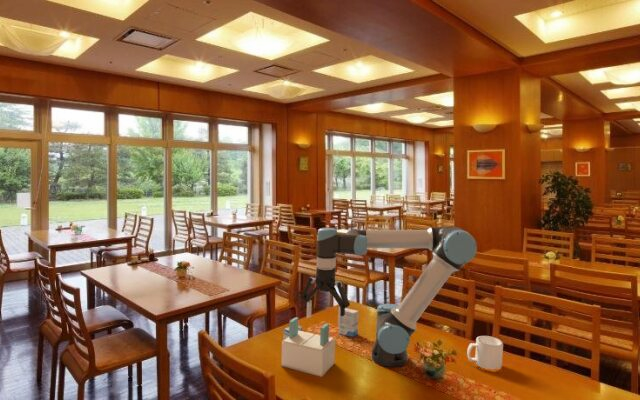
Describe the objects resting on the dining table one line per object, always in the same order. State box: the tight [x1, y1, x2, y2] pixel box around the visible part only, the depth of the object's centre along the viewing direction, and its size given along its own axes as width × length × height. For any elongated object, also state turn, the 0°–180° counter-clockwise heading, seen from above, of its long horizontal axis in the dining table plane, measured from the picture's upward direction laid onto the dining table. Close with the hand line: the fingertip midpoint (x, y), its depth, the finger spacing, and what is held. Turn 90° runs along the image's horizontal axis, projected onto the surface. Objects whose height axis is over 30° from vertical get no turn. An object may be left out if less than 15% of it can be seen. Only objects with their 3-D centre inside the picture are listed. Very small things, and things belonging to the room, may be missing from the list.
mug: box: [466, 335, 504, 370], centre depth 163 cm, size 14×10×11 cm
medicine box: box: [282, 324, 303, 342], centre depth 177 cm, size 8×4×9 cm, turn 141°
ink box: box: [338, 307, 359, 338], centre depth 193 cm, size 9×5×12 cm, turn 58°
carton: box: [280, 339, 336, 378], centre depth 161 cm, size 18×12×10 cm, turn 65°
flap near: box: [302, 322, 335, 351], centre depth 158 cm, size 8×12×8 cm
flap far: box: [282, 316, 315, 346], centre depth 162 cm, size 8×12×8 cm
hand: (324, 320), depth 157 cm, fingers open, 13 cm apart
